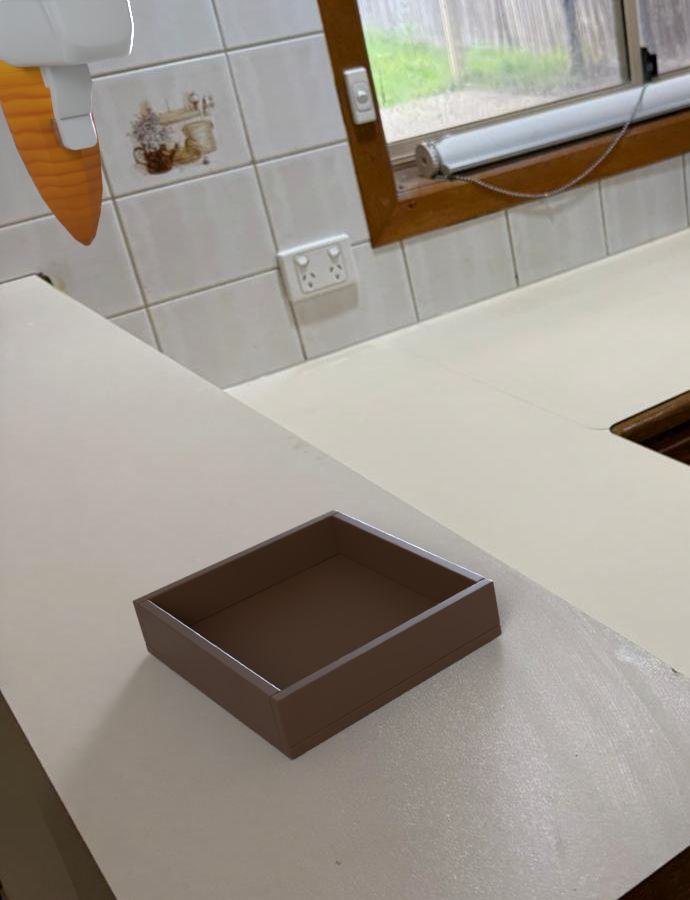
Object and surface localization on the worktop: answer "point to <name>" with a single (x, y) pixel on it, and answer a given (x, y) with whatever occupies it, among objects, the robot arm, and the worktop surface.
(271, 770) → the worktop surface
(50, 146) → the carrot
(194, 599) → the tray
